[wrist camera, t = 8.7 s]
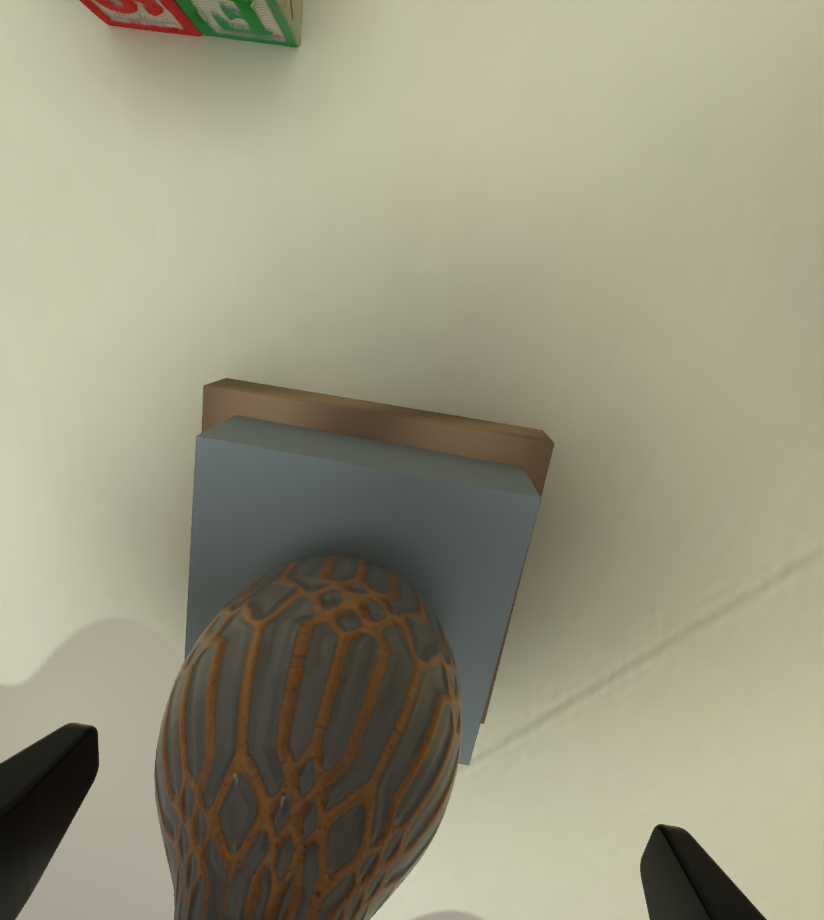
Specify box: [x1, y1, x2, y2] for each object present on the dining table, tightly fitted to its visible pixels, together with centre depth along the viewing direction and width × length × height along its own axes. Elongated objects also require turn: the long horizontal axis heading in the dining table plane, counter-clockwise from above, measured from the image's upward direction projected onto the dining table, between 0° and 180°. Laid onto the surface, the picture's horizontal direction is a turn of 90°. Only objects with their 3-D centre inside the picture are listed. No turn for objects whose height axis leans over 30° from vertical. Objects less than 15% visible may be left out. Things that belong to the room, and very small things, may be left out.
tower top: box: [185, 415, 541, 765], centre depth 17 cm, size 10×10×3 cm
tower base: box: [202, 378, 554, 724], centre depth 20 cm, size 12×12×3 cm
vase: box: [154, 555, 463, 920], centre depth 12 cm, size 7×7×9 cm
